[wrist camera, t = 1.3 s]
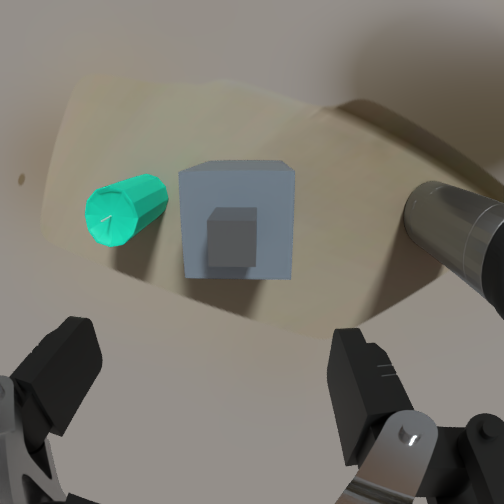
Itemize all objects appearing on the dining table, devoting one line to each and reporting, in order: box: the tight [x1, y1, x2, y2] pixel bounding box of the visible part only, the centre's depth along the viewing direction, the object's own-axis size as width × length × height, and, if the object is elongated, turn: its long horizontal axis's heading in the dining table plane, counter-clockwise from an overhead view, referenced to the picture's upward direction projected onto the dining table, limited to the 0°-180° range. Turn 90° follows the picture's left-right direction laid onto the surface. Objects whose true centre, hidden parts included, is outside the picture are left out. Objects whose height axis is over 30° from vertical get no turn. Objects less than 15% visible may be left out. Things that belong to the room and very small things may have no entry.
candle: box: [85, 174, 168, 247], centre depth 31 cm, size 6×6×12 cm
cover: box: [179, 160, 295, 280], centre depth 28 cm, size 8×8×18 cm
